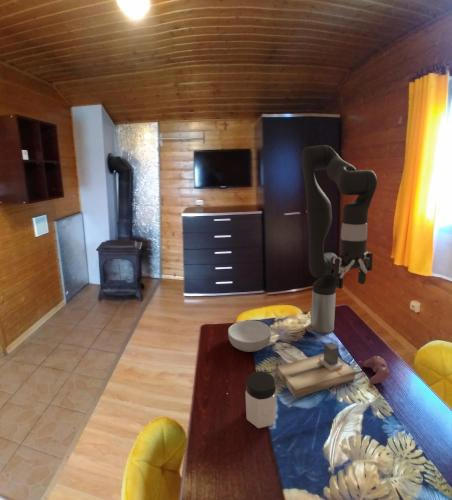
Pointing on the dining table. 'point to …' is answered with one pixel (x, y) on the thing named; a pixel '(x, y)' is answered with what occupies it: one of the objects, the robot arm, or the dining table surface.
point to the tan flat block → (312, 375)
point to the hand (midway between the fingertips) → (350, 285)
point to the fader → (331, 357)
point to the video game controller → (377, 369)
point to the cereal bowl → (249, 335)
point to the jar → (261, 399)
